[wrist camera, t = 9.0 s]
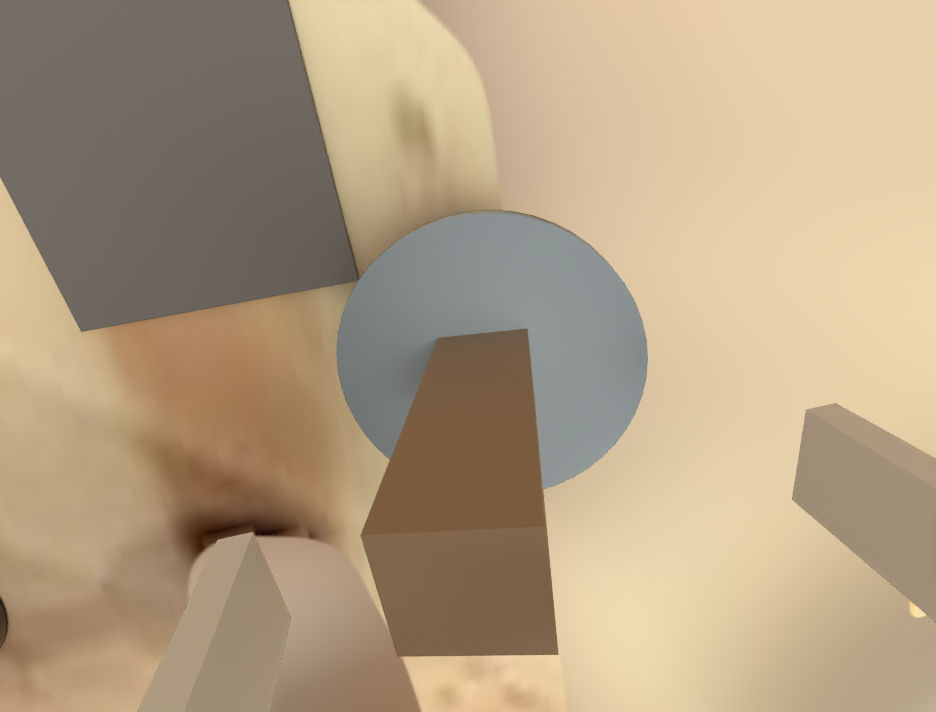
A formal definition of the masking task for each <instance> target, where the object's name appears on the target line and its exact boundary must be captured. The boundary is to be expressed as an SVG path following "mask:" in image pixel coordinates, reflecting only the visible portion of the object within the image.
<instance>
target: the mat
mask: <svg viewBox="0 0 936 712" xmlns="http://www.w3.org/2000/svg"><path fill="white" fill-rule="evenodd" d="M0 177H1V179H2V181H3V183H4V185H5V187H6V189H7V191H8V193H9V195H10V196H11V198H12V200H13V202H14V204H15V206H16V208H17V210H18V212H19V214H20V216H21V217H22V219H23V221H24V223H25V225H26V227H27V229H28V231H29V233H30V235H31V237H32V238H33V240H34V242H35V244H36V246H37V248H38V250H39V252H40V254H41V256H42V258H43V259H44V261H45V263H46V265H47V267H48V269H49V271H50V273H51V275H52V277H53V279H54V280H55V282H56V284H57V286H58V288H59V290H60V292H61V294H62V296H63V298H64V300H65V301H66V303H67V305H68V307H69V309H70V311H71V313H72V315H73V317H74V319H75V321H76V322H77V324H78V326H79V328H80V330H81V332H83V331H88V330H94V329H99V328H105V327H110V326H115V325H121V324H126V323H132V322H137V321H143V320H148V319H153V318H159V317H164V316H170V315H175V314H180V313H186V312H191V311H197V310H202V309H208V308H213V307H218V306H224V305H229V304H235V303H240V302H246V301H251V300H256V299H262V298H267V297H273V296H278V295H284V294H289V293H294V292H300V291H305V290H311V289H316V288H321V287H327V286H332V285H338V284H343V283H349V282H354V281H358V280H359V277H358V273H357V269H356V265H355V261H354V257H353V253H352V249H351V245H350V241H349V237H348V233H347V229H346V226H345V222H344V218H343V214H342V210H341V206H340V202H339V198H338V194H337V190H336V186H335V182H334V178H333V175H332V171H331V167H330V163H329V159H328V155H327V151H326V147H325V143H324V139H323V135H322V131H321V127H320V124H319V120H318V116H317V112H316V108H315V104H314V100H313V96H312V92H311V88H310V84H309V80H308V76H307V73H306V69H305V65H304V61H303V57H302V53H301V49H300V45H299V41H298V37H297V33H296V29H295V25H294V22H293V18H292V14H291V10H290V6H289V2H288V0H0Z"/></svg>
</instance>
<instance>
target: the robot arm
mask: <svg viewBox="0 0 936 712" xmlns="http://www.w3.org/2000/svg"><path fill="white" fill-rule="evenodd" d="M792 500H793V501H794V502H795V503H797V504H798V505H799V506H800V507H801V508H802V509H804V510H805V511H806V512H807V513H808V514H809V515H811V516H812V517H813V518H814V519H815V520H816V521H818V522H819V523H820V524H821V525H822V526H823V527H825V528H826V529H827V530H828V531H829V532H830V533H832V534H833V535H834V536H835V537H836V538H838V539H839V540H840V541H841V542H842V543H844V544H845V545H846V546H847V547H848V548H849V549H850V550H852V551H853V552H854V553H855V554H856V555H858V556H859V557H860V558H861V559H862V560H863V561H864V562H866V563H867V564H868V565H869V566H870V567H871V568H873V569H874V570H875V571H876V572H877V573H879V574H880V575H881V576H882V577H883V578H884V579H885V580H887V581H888V582H889V583H890V584H891V585H892V586H894V587H895V588H896V589H897V590H898V591H899V592H901V593H902V594H903V595H904V596H905V597H907V598H908V599H909V600H910V601H911V602H912V603H914V604H915V605H916V606H917V607H918V608H919V609H921V610H922V611H923V612H924V613H925V614H926V615H928V616H929V617H930V618H931V619H932V620H933V621H935V622H936V458H934V457H932V456H931V455H929V454H927V453H925V452H923V451H921V450H920V449H918V448H916V447H914V446H912V445H911V444H909V443H907V442H905V441H903V440H901V439H900V438H898V437H896V436H894V435H892V434H890V433H889V432H887V431H885V430H883V429H882V428H880V427H878V426H876V425H874V424H872V423H870V422H869V421H867V420H865V419H863V418H862V417H860V416H858V415H856V414H854V413H852V412H850V411H849V410H847V409H845V408H843V407H842V406H840V405H838V404H836V403H834V404H830V405H825V406H821V407H816V408H811V409H807V410H806V413H805V419H804V426H803V432H802V439H801V445H800V452H799V458H798V464H797V471H796V477H795V483H794V490H793V497H792ZM290 620H291V616H290V613H289V611H288V609H287V607H286V605H285V602H284V600H283V598H282V596H281V593H280V591H279V589H278V587H277V585H276V582H275V580H274V578H273V575H272V573H271V571H270V569H269V567H268V564H267V562H266V560H265V558H264V556H263V553H262V551H261V549H260V546H259V544H258V542H257V540H256V538H255V535H254V533H253V532H251V533H246V534H242V535H237V536H233V537H228V538H224V539H219V540H217V542H216V545H215V547H214V549H213V551H212V553H211V556H210V557H209V560H208V562H207V564H206V566H205V568H204V570H203V572H202V574H201V577H200V579H199V581H198V583H197V585H196V587H195V589H194V591H193V594H192V596H191V598H190V600H189V602H188V604H187V606H186V609H185V611H184V613H183V615H182V617H181V619H180V621H179V623H178V626H177V628H176V630H175V632H174V634H173V636H172V638H171V640H170V643H169V645H168V647H167V649H166V651H165V653H164V655H163V658H162V660H161V662H160V664H159V666H158V668H157V670H156V672H155V675H154V677H153V679H152V681H151V683H150V685H149V687H148V690H147V692H146V694H145V696H144V698H143V700H142V702H141V704H140V707H139V709H138V711H137V712H270V707H271V703H272V699H273V694H274V690H275V685H276V681H277V677H278V673H279V668H280V664H281V660H282V655H283V650H284V646H285V642H286V638H287V633H288V628H289V625H290ZM5 634H6V618H5V613H4V610H3V608H2V605H1V603H0V647H1V645H2V643H3V641H4V638H5Z"/></svg>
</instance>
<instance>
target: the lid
mask: <svg viewBox="0 0 936 712" xmlns="http://www.w3.org/2000/svg"><path fill="white" fill-rule="evenodd" d="M647 356H648V355H647V340H646V335H645V331H644V327H643V322H642V319H641V316H640V314H639V311H638V308H637V306H636V303H635V301H634V299H633V297H632V296H631V294H630V293H629V290H628V289H627V287H626V285H625V283H624V282H623V281H622V279H621V278H620V277H619V276H618V274H617V273H616V272H615V271H614V269H613V268H612V267H611V266H610V264H609V263H608V262H607V261H606V260H605V259H604V258H603V257H602V256H601V255H600V254H599V253H598V252H597V251H596V250H595V249H594V248H593V247H592V246H591V245H589V244H588V243H587V242H585V241H584V240H582V239H581V238H580V237H578V236H577V235H575V234H574V233H572V232H571V231H569V230H567V229H565V228H563V227H561V226H559V225H557V224H555V223H552V222H550V221H547V220H544V219H542V218H539V217H536V216H533V215H528V214H523V213H518V212H513V211H501V210H480V211H468V212H463V213H458V214H453V215H449V216H445V217H443V218H440V219H437V220H434V221H432V222H429V223H427V224H425V225H423V226H421V227H419V228H417V229H415V230H413V231H411V232H410V233H408V234H407V235H405V236H404V237H403V238H401V239H400V240H398V241H397V242H396V243H394V244H393V245H392V246H390V247H389V248H388V249H387V250H385V251H384V252H383V253H382V254H381V255H380V256H379V257H378V258H377V259H376V260H375V261H374V262H373V263H372V264H371V265H370V266H369V268H368V269H367V270H366V272H365V273H364V274H363V275H362V277H361V278H360V279H359V281H358V282H357V284H356V286H355V288H354V289H353V291H352V293H351V295H350V297H349V299H348V301H347V304H346V307H345V309H344V312H343V314H342V318H341V323H340V327H339V332H338V341H337V364H338V373H339V378H340V383H341V387H342V390H343V393H344V396H345V399H346V402H347V404H348V406H349V408H350V410H351V412H352V414H353V416H354V418H355V420H356V422H357V423H358V425H359V426H360V427H361V429H362V430H363V432H364V433H365V435H366V436H367V437H368V438H369V439H370V441H371V442H372V443H373V444H374V445H375V446H376V447H377V448H378V449H379V450H380V451H381V452H382V453H383V454H384V455H385V456H386V457H387V458H389V459H390V462H389V464H388V467H387V469H386V472H385V474H384V477H383V479H382V482H381V485H380V487H379V490H378V492H377V495H376V497H375V500H374V502H373V505H372V508H371V510H370V513H369V515H368V518H367V520H366V523H365V525H364V528H363V531H362V533H361V538H362V542H363V545H364V548H365V551H366V555H367V558H368V561H369V565H370V568H371V571H372V574H373V578H374V581H375V584H376V588H377V591H378V594H379V597H380V601H381V604H382V607H383V611H384V614H385V617H386V620H387V624H388V627H389V630H390V634H391V637H392V640H393V643H394V647H395V650H396V653H397V656H485V655H558V645H557V634H556V623H555V613H554V602H553V591H552V580H551V570H550V559H549V548H548V537H547V527H546V516H545V505H544V494H543V489H546V488H549V487H552V486H555V485H558V484H560V483H562V482H564V481H566V480H569V479H570V478H573V477H574V476H576V475H578V474H579V473H581V472H583V471H584V470H586V469H588V468H589V467H590V466H592V465H593V464H594V463H595V462H597V461H598V460H599V459H600V458H602V457H603V456H604V455H605V454H606V453H607V452H608V450H610V449H611V448H612V447H613V446H614V445H615V444H616V442H617V441H618V440H619V438H620V437H621V436H622V434H623V433H624V432H625V430H626V429H627V427H628V425H629V424H630V422H631V420H632V418H633V417H634V415H635V413H636V410H637V408H638V405H639V403H640V400H641V397H642V394H643V390H644V385H645V381H646V374H647V362H648V357H647Z"/></svg>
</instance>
